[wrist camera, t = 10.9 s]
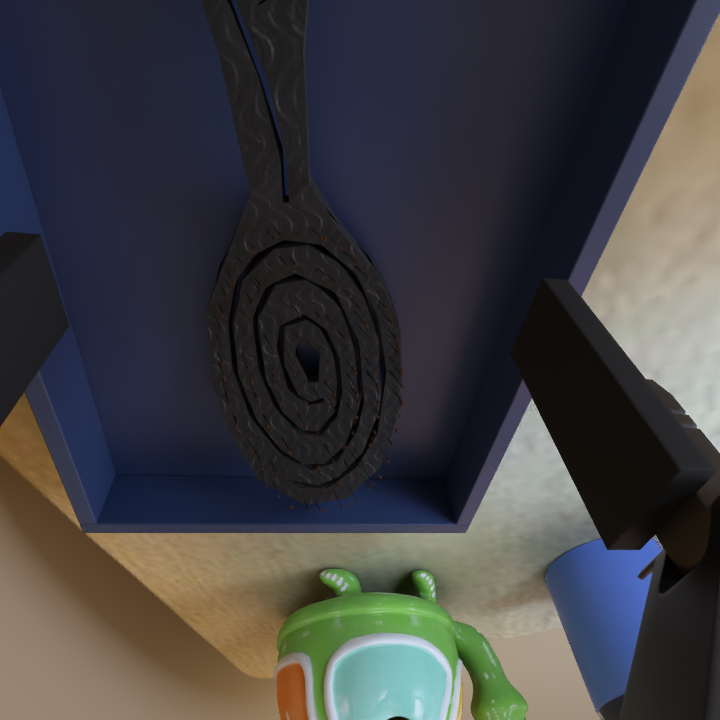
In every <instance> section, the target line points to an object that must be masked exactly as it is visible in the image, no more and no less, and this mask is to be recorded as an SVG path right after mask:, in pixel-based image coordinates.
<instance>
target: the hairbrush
mask: <svg viewBox="0 0 720 720" xmlns="http://www.w3.org/2000/svg"><path fill="white" fill-rule="evenodd" d="M265 1H266V0H236V2H237V5H238V7H239V10H240V12H241V15H242V17H243V20H244V22H245V25H246V27H247V30H248V32H249V35H250V37H251V40H252V43H253V45H254V48H255V50H256V53H257V55H258V58H259V60H260V63H261V65H262V68H263V70H264V73H265V75H266V78H267V80H268V83H269V87H270V92H271V96H272V100H273V104H274V109H275V113H276V117H277V121H278V126H279V130H280V134H281V138H282V143H283V147H284V151H285V155H286V160H287V170H288V192H289V195H285V183H284V163H283V148H282V145H281V141H280V138H279V135H278V132H277V128H276V125H275V122H274V119H273V116H272V112H271V109H270V106H269V103H268V100H267V96H266V93H265V90H264V87H263V84H262V81H261V79H260V76H259V73H258V70H257V68H256V65H255V62H254V60H253V57H252V54H251V52H250V49H249V46H248V44H247V41H246V38H245V36H244V33H243V30H242V28H241V25H240V22H239V20H238V17H237V14H236V11H235V9H234V6H233V3H232V1H231V0H201V3H202V6H203V9H204V12H205V15H206V18H207V21H208V24H209V27H210V30H211V33H212V36H213V39H214V42H215V45H216V48H217V51H218V54H219V59H220V63H221V67H222V72H223V76H224V81H225V85H226V90H227V94H228V98H229V103H230V107H231V112H232V116H233V121H234V125H235V129H236V134H237V138H238V143H239V147H240V152H241V156H242V160H243V165H244V169H245V174H246V178H247V183H248V187H249V194H248V198H247V202H246V205H245V208H244V211H243V214H242V217H241V220H240V223H239V226H238V229H237V232H236V234H235V236H234V238H233V239H232V241H231V243H230V245H229V248H228V250H227V252H226V254H225V256H224V258H223V260H222V262H221V264H220V266H219V269H218V274H217V279H216V284H215V286H214V289H213V292H212V295H211V298H210V301H209V304H208V307H207V311H206V317H207V331H208V345H209V359H210V373H211V381H212V384H213V387H214V390H215V393H216V396H217V399H218V402H219V405H220V408H221V411H222V414H223V417H224V420H225V423H226V426H227V429H228V430H229V432H230V434H231V435H232V437H233V439H234V441H235V442H236V444H237V446H238V447H239V449H240V451H241V452H242V454H243V456H244V458H245V459H246V461H247V463H248V464H249V466H250V468H251V469H252V471H253V473H254V475H255V476H256V478H257V479H259V480H261V481H263V482H264V483H265V484H266V486H265V487H266V489H267V488H268V486H267V484H268V485H270V486H271V487H273V488H275V489H276V490H278V491H280V492H282V493H284V494H285V495H287V496H289V497H291V498H293V499H294V500H296V501H298V502H300V503H301V504H303V505H306V506H307V505H308V504H314V503H316V504H317V503H321V502H327V501H334V500H338V501H339V500H341V499H347V497H348V496H349V495H351V494H353V492H354V491H355V490H356V489H357V488H358V487H359V486H361V485H362V484H363V483H364V482H365V481H366V480H367V479H368V478H370V477H371V476H372V475H373V474H374V473H375V472H376V471H377V470H378V469H380V466H381V463H382V460H383V457H384V455H385V451H386V449H387V446H388V443H389V442H390V445H391V446H394V445H393V443H392V442H391V441H390V437H391V434H392V431H393V428H394V425H395V422H396V420H397V417H398V416H399V418H400V417H401V414H399V411H400V408H401V405H403V400H402V399H401V387H404V386H403V385H402V378H403V377H404V375H403V374H402V372H404V371H403V369H402V356H401V332H400V327H399V322H398V318H397V315H396V312H395V309H394V306H393V303H392V300H391V297H390V295H389V292H388V290H387V288H386V285H385V283H384V281H383V278H382V276H381V273H380V271H379V269H378V267H377V266H376V264H375V263H374V262H373V261H372V260H371V258H370V257H369V256H368V255H367V254H366V252H365V251H364V250H363V249H362V248H361V246H360V245H359V244H358V243H357V242H356V240H355V239H354V238H353V237H352V236H351V234H350V233H349V232H348V231H347V230H346V228H345V227H344V226H343V225H342V224H341V222H340V221H339V220H338V218H337V217H336V215H335V214H334V212H333V211H332V209H331V207H330V206H329V204H328V203H327V201H326V200H325V198H324V196H323V195H322V193H321V192H320V190H319V188H318V187H317V185H316V184H315V182H314V181H313V179H312V177H311V176H310V156H309V131H308V107H307V82H306V57H305V44H306V32H307V20H308V9H309V0H268V1H266V2H265ZM265 249H266V250H265ZM263 250H264V251H263ZM260 251H263V252H261V253H260V254H258V255H257V256H256V257H255V258H254V260H253V262H252V264H251V265H250V267H249V269H248V271H247V273H246V275H245V277H244V279H243V281H242V285H241V288H240V294H239V299H238V304H237V311H236V317H235V323H234V334H235V344H234V339H233V334H232V329H231V324H232V317H233V310H234V302H235V295H236V288H237V281H238V278H239V276H240V274H241V273H242V271H243V270H244V269H245V267H246V266H247V264H248V263H249V262H250V260H251V259H252V257H253V256H254V255H255V254H256V253H258V252H260ZM348 267H349V268H350V269H351V270H352V271H353V272H354V273H356V274H357V276H358V278H359V280H360V282H361V284H362V285H361V284H360V283H359V281H358V280H357V279H356V278H355V276H354V275H353V274H352V272H351V271H350V270H349V269H348ZM271 284H272V286H271V287H270V289H269V290H268V292H267V294H266V295H265V297H264V299H263V302H262V306H261V310H260V314H259V317H258V305H259V301H260V299H261V296H262V294H263V292H264V289H265V287H266V286H269V285H271ZM362 286H363V288H364V290H365V292H366V294H367V296H368V298H369V300H370V302H371V304H372V306H373V308H374V310H375V312H376V314H377V316H378V320H379V325H380V332H381V338H382V345H383V351H384V374H383V383H382V392H381V400H380V404H379V400H378V398H379V390H380V364H379V340H378V332H377V328H376V325H375V323H374V320H373V317H372V314H371V311H370V308H369V305H368V302H367V299H366V297H365V294H364V291H363V288H362ZM332 291H334V292H335V293H336V294H335V293H334V292H332ZM344 311H345V312H344ZM345 313H346V315H345ZM346 316H347V318H348V320H349V322H350V324H351V326H352V328H353V330H354V332H355V334H356V337H357V344H358V350H359V357H360V364H361V371H362V381H363V389H362V399H361V402H360V405H359V397H360V396H359V394H358V391H359V389H358V377H357V366H356V355H355V344H354V340H353V337H352V333H351V330H350V327H349V324H348V321H347V318H346ZM258 322H259V330H260V338H261V345H262V353H263V358H262V354H261V350H260V346H259V342H258V338H257V323H258ZM284 323H285V326H284V332H283V335H284V339H283V356H284V361H283V357H282V352H281V348H280V343H279V338H278V334H279V328H280V325H282V324H284ZM326 329H327V330H326ZM327 332H328V333H327ZM328 334H329V336H330V338H331V340H332V342H333V345H334V347H335V349H336V351H337V353H338V355H339V360H340V370H341V393H340V398H339V400H338V402H337V404H336V406H335V401H336V391H337V368H336V356H335V353H334V351H333V348H332V345H331V342H330V339H329V336H328ZM302 336H304V337H305V338H306V339H307V340H308V341H309V342H310V346H314V348H315V349H316V350H317V351H318V352H319V353H320V365H319V370H316V371H306V369H305V366H304V364H303V362H302V359H301V357H300V354H299V352H298V350H297V345H298V343H299V341H300V340H301V338H302ZM300 344H301V346H303V343H300ZM235 345H236V349H235ZM263 361H264V362H263ZM377 405H380V409H379V412H378V410H377ZM376 413H378V414H376ZM376 415H377V417H376ZM394 430H395V432H396V433H398V430H397V429H394ZM349 433H350V434H349ZM386 458H387V457H386ZM385 460H386V459H385ZM389 461H390V460H389V459H388V458H387V460H386V463H387V464H388V462H389ZM388 465H389V464H388ZM379 478H380V479H381V476H380V474H379ZM372 483H373V482H372ZM367 484H368V483H367ZM374 485H375V483H373V486H374ZM368 488H369V489H371V487H370V486H369V485H368ZM277 495H278V498H279V497H280V494H277ZM353 495H354V494H353ZM354 497H355V496H354ZM286 498H287V497H286ZM355 499H356V498H355ZM355 502H356V503H357V504H358V502H359V501H358V500H356V501H355ZM288 503H289V502H288ZM339 503H340V502H339ZM289 505H290V504H289ZM317 506H318V504H317ZM340 506H341V510H342V509H344V508H343V506H342V505H340ZM349 507H352V506H351V504H350V503H349ZM291 508H292V509H293V510H295V509H294V507H293V506H291V505H290V509H291ZM307 509H308V513H309V514H310V513H311V512H310V509H309V508H308V506H307ZM318 509H319V512H320V513H321V509H320V508H319V506H318ZM324 510H325V512H326V513H327V510H326V508H324Z"/></svg>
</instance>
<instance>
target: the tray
mask: <svg viewBox="0 0 720 720" xmlns="http://www.w3.org/2000/svg"><path fill="white" fill-rule="evenodd" d="M231 1H232V3H233V6H234V9H235V11H236V14H237V17H238V20H239V22H240V25H241V28H242V30H243V33H244V36H245V38H246V41H247V44H248V46H249V49H250V52H251V54H252V57H253V60H254V62H255V65H256V68H257V70H258V73H259V76H260V79H261V81H262V84H263V87H264V90H265V93H266V96H267V100H268V103H269V106H270V109H271V112H272V116H273V119H274V122H275V125H276V128H277V132H278V135H279V138H280V141H281V145H282V148H283V163H284V183H285V195H289V192H288V170H287V160H286V155H285V151H284V147H283V143H282V138H281V134H280V130H279V126H278V121H277V117H276V113H275V109H274V104H273V100H272V96H271V92H270V87H269V83H268V80H267V78H266V75H265V73H264V70H263V68H262V65H261V63H260V60H259V58H258V55H257V53H256V50H255V48H254V45H253V43H252V40H251V37H250V35H249V32H248V30H247V27H246V25H245V22H244V20H243V17H242V15H241V12H240V10H239V7H238V5H237V2H236V0H231ZM266 1H268V0H266ZM266 1H265V2H266ZM719 13H720V0H309V9H308V20H307V32H306V44H305V57H306V82H307V107H308V131H309V156H310V176H311V177H312V179H313V181H314V182H315V184H316V185H317V187H318V188H319V190H320V192H321V193H322V195H323V196H324V198H325V200H326V201H327V203H328V204H329V206H330V207H331V209H332V211H333V212H334V214H335V215H336V217H337V218H338V220H339V221H340V222H341V224H342V225H343V226H344V227H345V228H346V230H347V231H348V232H349V233H350V234H351V236H352V237H353V238H354V239H355V240H356V242H357V243H358V244H359V245H360V246H361V248H362V249H363V250H364V251H365V252H366V254H367V255H368V256H369V257H370V258H371V260H372V261H373V262H374V263H375V264H376V266H377V267H378V269H379V271H380V273H381V276H382V278H383V281H384V283H385V285H386V288H387V290H388V292H389V295H390V297H391V300H392V303H393V306H394V309H395V312H396V315H397V318H398V322H399V327H400V332H401V356H402V369H403V371H404V372H402V374H403V375H404V377H403V378H402V385H403V386H404V387H401V399H402V400H403V405H401V408H400V411H399V414H401V417H400V418H399V416H398V417H397V420H396V422H395V425H394V428H393V431H392V434H391V437H390V441H391V442H392V443H393V445H394V446H391V445H390V442H389V443H388V446H387V449H386V451H385V455H384V457H383V460H382V463H381V466H380V469H378V470H377V471H376V472H375V473H374V474H373V475H372V476H371V477H370V478H368V479H367V480H366V481H365V482H364V483H363V484H362V485H361V486H359V487H358V488H357V489H356V490H355V491H354V492H353V494H354V495H353V494H351V495H349V496H348V497H347V499H341V500H339V501H338V500H334V501H327V502H321V503H317V504H318V506H319V508H320V509H321V513H320V512H319V509H318V506H317V504H316V503H314V504H308V505H307V506H308V508H309V509H310V512H311V513H310V514H309V513H308V509H307V506H306V505H303V504H301V503H300V502H298V501H296V500H294V499H293V498H291V497H289V496H287V495H285V494H284V493H282V492H280V491H278V490H276V489H275V488H273V487H271V486H270V485H268V484H267V486H268V488H267V489H266V487H265V486H266V484H265V483H264V482H263V481H261V480H259V479H257V478H256V476H255V475H254V473H253V471H252V469H251V468H250V466H249V464H248V463H247V461H246V459H245V458H244V456H243V454H242V452H241V451H240V449H239V447H238V446H237V444H236V442H235V441H234V439H233V437H232V435H231V434H230V432H229V430H228V429H227V426H226V423H225V420H224V417H223V414H222V411H221V408H220V405H219V402H218V399H217V396H216V393H215V390H214V387H213V384H212V381H211V373H210V359H209V345H208V331H207V317H206V311H207V307H208V304H209V301H210V298H211V295H212V292H213V289H214V286H215V284H216V279H217V274H218V269H219V266H220V264H221V262H222V260H223V258H224V256H225V254H226V252H227V250H228V248H229V245H230V243H231V241H232V239H233V238H234V236H235V234H236V232H237V229H238V226H239V223H240V220H241V217H242V214H243V211H244V208H245V205H246V202H247V198H248V194H249V187H248V183H247V178H246V174H245V169H244V165H243V160H242V156H241V152H240V147H239V143H238V138H237V134H236V129H235V125H234V121H233V116H232V112H231V107H230V103H229V98H228V94H227V90H226V85H225V81H224V76H223V72H222V67H221V63H220V59H219V54H218V51H217V48H216V45H215V42H214V39H213V36H212V33H211V30H210V27H209V24H208V21H207V18H206V15H205V12H204V9H203V6H202V3H201V0H0V237H1V236H2V235H3V234H4V233H5V232H19V233H30V234H41V237H42V240H43V243H44V246H45V250H46V253H47V256H48V259H49V262H50V266H51V269H52V272H53V275H54V278H55V281H56V285H57V288H58V291H59V294H60V297H61V301H62V304H63V307H64V310H65V313H66V317H67V320H68V323H69V327H68V328H67V330H66V331H65V333H64V334H63V336H62V337H61V339H60V340H59V342H58V343H57V345H56V346H55V347H54V349H53V350H52V352H51V353H50V355H49V356H48V358H47V359H46V361H45V362H44V364H43V365H42V367H41V368H40V369H39V371H38V372H37V374H36V375H35V377H34V378H33V380H32V381H31V383H30V384H29V386H28V387H27V389H26V390H25V391H24V392H25V394H26V397H27V399H28V402H29V404H30V406H31V409H32V411H33V414H34V416H35V418H36V421H37V423H38V425H39V428H40V430H41V433H42V435H43V437H44V440H45V442H46V445H47V447H48V449H49V452H50V454H51V457H52V459H53V461H54V464H55V466H56V469H57V471H58V473H59V476H60V478H61V480H62V483H63V485H64V488H65V490H66V492H67V495H68V497H69V500H70V502H71V504H72V507H73V509H74V512H75V514H76V516H77V519H78V521H79V523H80V526H81V528H82V531H83V532H84V533H466V531H467V529H468V527H469V525H470V523H471V521H472V519H473V517H474V515H475V513H476V511H477V509H478V507H479V505H480V503H481V501H482V499H483V497H484V495H485V493H486V491H487V489H488V487H489V485H490V482H491V480H492V478H493V476H494V474H495V472H496V470H497V468H498V466H499V464H500V462H501V460H502V458H503V456H504V454H505V452H506V450H507V448H508V446H509V444H510V441H511V439H512V437H513V435H514V433H515V431H516V429H517V427H518V425H519V423H520V421H521V419H522V417H523V415H524V413H525V411H526V409H527V407H528V405H529V403H530V400H531V398H532V397H531V394H530V392H529V390H528V388H527V386H526V384H525V382H524V380H523V378H522V376H521V374H520V372H519V370H518V368H517V366H516V364H515V362H514V360H513V358H512V356H511V354H510V352H511V350H512V348H513V345H514V343H515V341H516V338H517V336H518V334H519V331H520V329H521V327H522V324H523V322H524V320H525V317H526V315H527V313H528V310H529V308H530V306H531V303H532V301H533V299H534V296H535V294H536V292H537V289H538V287H539V285H540V282H541V280H542V278H551V279H563V280H568V281H569V282H570V284H571V285H572V286H573V287H574V289H575V290H576V291H577V293H578V294H579V295H580V296H582V294H583V292H584V290H585V288H586V286H587V284H588V282H589V279H590V277H591V275H592V273H593V271H594V269H595V267H596V265H597V263H598V261H599V259H600V257H601V255H602V253H603V251H604V249H605V247H606V245H607V243H608V241H609V238H610V236H611V234H612V232H613V230H614V228H615V226H616V224H617V222H618V220H619V218H620V216H621V214H622V212H623V210H624V208H625V206H626V204H627V202H628V200H629V197H630V195H631V193H632V191H633V189H634V187H635V185H636V183H637V181H638V179H639V177H640V175H641V173H642V171H643V169H644V167H645V165H646V163H647V161H648V159H649V156H650V154H651V152H652V150H653V148H654V146H655V144H656V142H657V140H658V138H659V136H660V134H661V132H662V130H663V128H664V126H665V124H666V122H667V120H668V118H669V115H670V113H671V111H672V109H673V107H674V105H675V103H676V101H677V99H678V97H679V95H680V93H681V91H682V89H683V87H684V85H685V83H686V81H687V79H688V77H689V74H690V72H691V70H692V68H693V66H694V64H695V62H696V60H697V58H698V56H699V54H700V52H701V50H702V48H703V46H704V44H705V42H706V40H707V38H708V36H709V33H710V31H711V29H712V27H713V25H714V23H715V21H716V19H717V17H718V15H719ZM265 250H266V249H265ZM263 251H264V250H263ZM263 251H260V252H258V253H256V254H255V255H254V256H253V257H252V259H251V260H250V262H249V263H248V264H247V266H246V267H245V269H244V270H243V271H242V273H241V274H240V276H239V278H238V281H237V288H236V295H235V302H234V310H233V317H232V324H231V329H232V334H233V339H234V344H235V334H234V323H235V317H236V311H237V304H238V299H239V294H240V288H241V285H242V281H243V279H244V277H245V275H246V273H247V271H248V269H249V267H250V265H251V264H252V262H253V260H254V258H255V257H256V256H257V255H258V254H260V253H261V252H263ZM348 269H349V270H350V271H351V272H352V274H353V275H354V276H355V278H356V279H357V280H358V281H359V283H360V284H361V282H360V280H359V278H358V276H357V274H356V273H354V272H353V271H352V270H351V269H350V268H349V267H348ZM361 285H362V284H361ZM271 286H272V284H271V285H269V286H266V287H265V289H264V292H263V294H262V296H261V299H260V301H259V305H258V317H259V314H260V310H261V306H262V302H263V299H264V297H265V295H266V294H267V292H268V290H269V289H270V287H271ZM362 288H363V286H362ZM363 291H364V294H365V297H366V299H367V302H368V305H369V308H370V311H371V314H372V317H373V320H374V323H375V325H376V328H377V332H378V340H379V364H380V390H379V398H378V400H379V404H380V400H381V392H382V383H383V374H384V351H383V345H382V338H381V332H380V325H379V320H378V316H377V314H376V312H375V310H374V308H373V306H372V304H371V302H370V300H369V298H368V296H367V294H366V292H365V290H364V288H363ZM332 292H334V291H332ZM334 293H335V292H334ZM335 294H336V293H335ZM344 312H345V311H344ZM345 315H346V313H345ZM346 318H347V316H346ZM347 321H348V324H349V327H350V330H351V333H352V337H353V340H354V344H355V355H356V366H357V377H358V389H359V391H358V394H359V396H360V397H359V405H360V402H361V399H362V389H363V381H362V371H361V364H360V357H359V350H358V344H357V337H356V334H355V332H354V330H353V328H352V326H351V324H350V322H349V320H348V318H347ZM284 326H285V323H284V324H282V325H280V328H279V334H278V338H279V343H280V348H281V352H282V357H283V361H284V356H283V339H284V335H283V332H284ZM326 330H327V329H326ZM327 333H328V332H327ZM328 336H329V334H328ZM257 338H258V342H259V346H260V350H261V354H262V358H263V353H262V345H261V338H260V330H259V322H258V323H257ZM329 339H330V342H331V345H332V348H333V351H334V353H335V356H336V368H337V391H336V401H335V406H336V404H337V402H338V400H339V398H340V393H341V370H340V360H339V355H338V353H337V351H336V349H335V347H334V345H333V342H332V340H331V338H330V336H329ZM300 343H303V346H301V344H300ZM235 349H236V345H235ZM297 350H298V352H299V354H300V357H301V359H302V362H303V364H304V366H305V369H306V371H316V370H319V365H320V353H319V352H318V351H317V350H316V349H315V348H314V346H310V342H309V341H308V340H307V339H306V338H305V337H304V336H302V338H301V340H300V341H299V343H298V345H297ZM263 362H264V361H263ZM379 409H380V405H377V410H378V412H379ZM376 414H378V413H376ZM376 417H377V415H376ZM394 429H397V430H398V433H396V432H395V430H394ZM349 434H350V433H349ZM386 457H387V458H388V459H389V460H390V461H389V462H388V464H389V465H388V464H387V463H386V460H387V458H386ZM385 459H386V460H385ZM379 474H380V476H381V479H380V478H379ZM372 482H373V483H375V485H374V486H373V483H372ZM367 483H368V484H367ZM368 485H369V486H370V487H371V489H369V488H368ZM277 494H280V497H279V498H278V495H277ZM354 496H355V497H354ZM286 497H287V498H286ZM355 498H356V499H355ZM356 500H358V501H359V502H358V504H357V503H356V502H355V501H356ZM288 502H289V503H288ZM339 502H340V503H339ZM349 503H350V504H351V506H352V507H349ZM289 504H290V505H291V506H293V507H294V509H295V510H293V509H292V508H291V509H290V505H289ZM340 505H342V506H343V508H344V509H342V510H341V506H340ZM324 508H326V510H327V513H326V512H325V510H324Z"/></svg>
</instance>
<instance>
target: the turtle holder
mask: <svg viewBox="0 0 720 720" xmlns="http://www.w3.org/2000/svg"><path fill="white" fill-rule="evenodd" d="M319 578H320V580H321V581H322V582H323V583H324V584H325V585H327V586H328V587H330V588H331V589H332V590H333V591H334V592H335V595H336V598H332V599H328V600H324V601H320V602H316V603H313V604H310V605H307V606H305V607H303V608H301V609H299V610H297V611H295V612H294V613H293V614H291V615H290V616H289V617H288V618H287V619H286V620H285V622H284V624H283V625H282V627H281V629H280V632H279V635H278V639H277V648H278V651H279V655H278V663H277V665H276V667H275V670H274V681H275V684H276V687H277V699H278V707H279V713H280V718H281V720H461V717H462V708H463V686H462V675H461V672H462V667H463V664H464V666H465V667H466V669H467V671H468V673H469V675H470V677H471V680H472V683H473V698H472V702H471V713H472V716H473V717H474V719H475V720H526V719H525V713H526V712H527V710H528V705H527V702H526V701H525V699H524V698H523V696H522V695H521V694H520V693H519V692H518V691H517V690H516V689H515V688H514V687H513V686H512V685H511V684H510V682H509V681H508V680H507V678H506V676H505V674H504V672H503V669H502V667H501V665H500V662H499V660H498V658H497V656H496V654H495V652H494V651H493V649H492V647H491V645H490V644H489V642H488V641H487V640H486V639H485V637H484V636H483V635H482V634H481V633H479V632H478V631H477V630H476V629H475V628H473V627H472V626H470V625H467V624H464V623H461V622H457V621H453V619H452V618H451V616H450V615H449V614H448V613H447V612H446V611H445V610H444V609H443V608H442V607H441V606H439V605H438V604H437V602H436V588H435V582H434V578H433V576H432V574H431V573H429V572H427V571H415V572H413V573H412V580H413V583H414V586H415V588H416V591H417V594H418V597H414V596H410V595H404V594H398V593H386V592H364V593H362V591H361V586H360V583H359V581H358V579H357V577H356V576H355V575H354V574H353V573H351V572H349V571H347V570H344V569H326V570H323V571H322V572H320V574H319Z"/></svg>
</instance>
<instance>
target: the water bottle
mask: <svg viewBox="0 0 720 720" xmlns="http://www.w3.org/2000/svg"><path fill="white" fill-rule="evenodd" d="M661 551H662V548H661V547H660V545H659V544H658V543H657V542H656V541H654V540H652V539H650V540H649V541H648V542H647V543H646V544H645V546H644V547H643V548H642V549H641V550H607V549H606V547H605V545H604V542H603V540H602V539H598V540H595V541H592V542H589V543H586V544H583V545H581V546H578V547H576V548H574V549H572V550H570V551H568V552H566V553H565V554H563V555H562V556H560V557H559V558H558V559H556V560H555V561H554V562H553V563H552V564H551V565H550V566H549V568H548V569H547V571H546V574H545V581H546V584H547V586H548V589H549V592H550V594H551V597H552V599H553V602H554V605H555V607H556V610H557V612H558V615H559V618H560V620H561V623H562V625H563V628H564V630H565V633H566V636H567V638H568V641H569V644H570V646H571V649H572V651H573V654H574V657H575V659H576V662H577V664H578V667H579V669H580V672H581V674H582V677H583V680H584V682H585V685H586V687H587V690H588V692H589V695H590V697H591V700H592V703H593V705H594V708H595V710H596V712H597V714H598V715H599V717H600V719H601V720H619V717H620V712H621V708H622V704H623V699H624V695H625V691H626V686H627V682H628V678H629V673H630V669H631V664H632V660H633V656H634V651H635V647H636V643H637V638H638V634H639V629H640V625H641V621H642V616H643V612H644V608H645V603H646V599H647V595H648V590H649V586H650V581H651V577H652V573H650V574H649V575H648V576H647V577H646V578H644V579H643V580H641V579H639V578H638V575H639V573H640V572H641V570H642V569H643V568H644V567H645V566H646V565H647V564H649V563H650V562H651V561H652V560H653V559H654V558H655V557H656V556H657V555H658V554H659V553H660V552H661Z"/></svg>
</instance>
